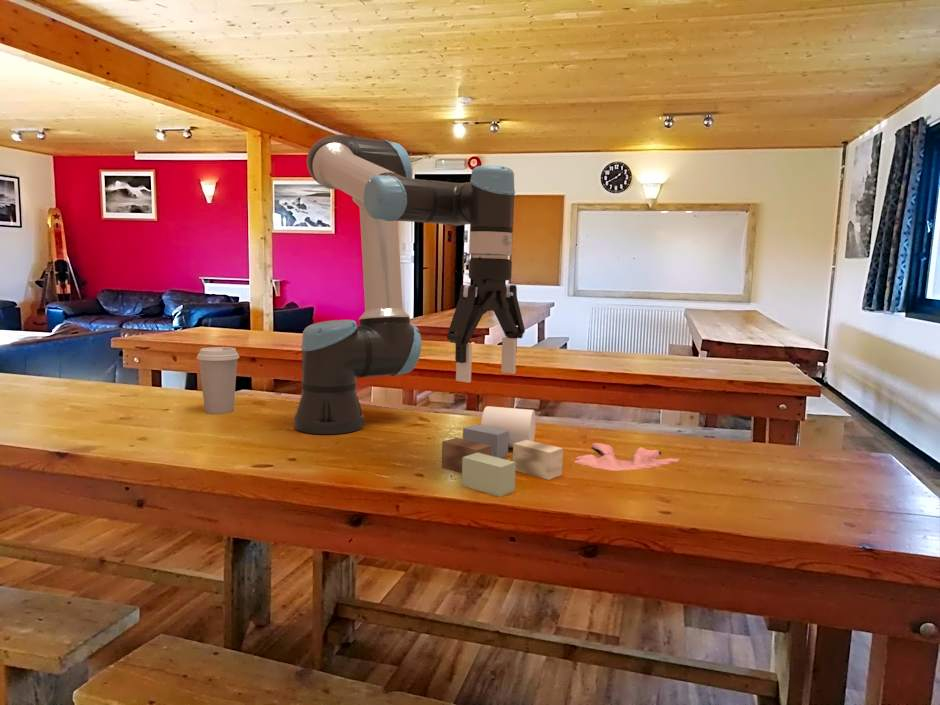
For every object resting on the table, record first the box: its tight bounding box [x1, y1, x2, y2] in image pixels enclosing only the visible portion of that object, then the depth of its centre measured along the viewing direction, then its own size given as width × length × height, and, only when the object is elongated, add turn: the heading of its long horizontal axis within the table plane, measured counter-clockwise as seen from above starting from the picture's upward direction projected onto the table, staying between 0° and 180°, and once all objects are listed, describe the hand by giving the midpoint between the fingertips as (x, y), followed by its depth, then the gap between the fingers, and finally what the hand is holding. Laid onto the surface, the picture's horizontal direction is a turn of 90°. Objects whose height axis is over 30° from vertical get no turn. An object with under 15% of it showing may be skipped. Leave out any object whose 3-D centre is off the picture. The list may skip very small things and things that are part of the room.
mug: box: [480, 405, 537, 449], centre depth 140 cm, size 12×10×8 cm
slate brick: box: [462, 424, 509, 459], centre depth 133 cm, size 8×4×5 cm, turn 55°
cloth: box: [574, 442, 681, 471], centre depth 134 cm, size 20×22×2 cm
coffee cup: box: [196, 346, 240, 415], centre depth 162 cm, size 10×10×15 cm
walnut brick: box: [441, 437, 491, 474], centre depth 122 cm, size 8×4×5 cm, turn 51°
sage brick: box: [461, 453, 516, 498], centre depth 112 cm, size 8×4×5 cm, turn 51°
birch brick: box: [512, 440, 564, 480], centre depth 122 cm, size 8×4×5 cm, turn 49°
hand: (486, 377), depth 122 cm, fingers open, 13 cm apart
